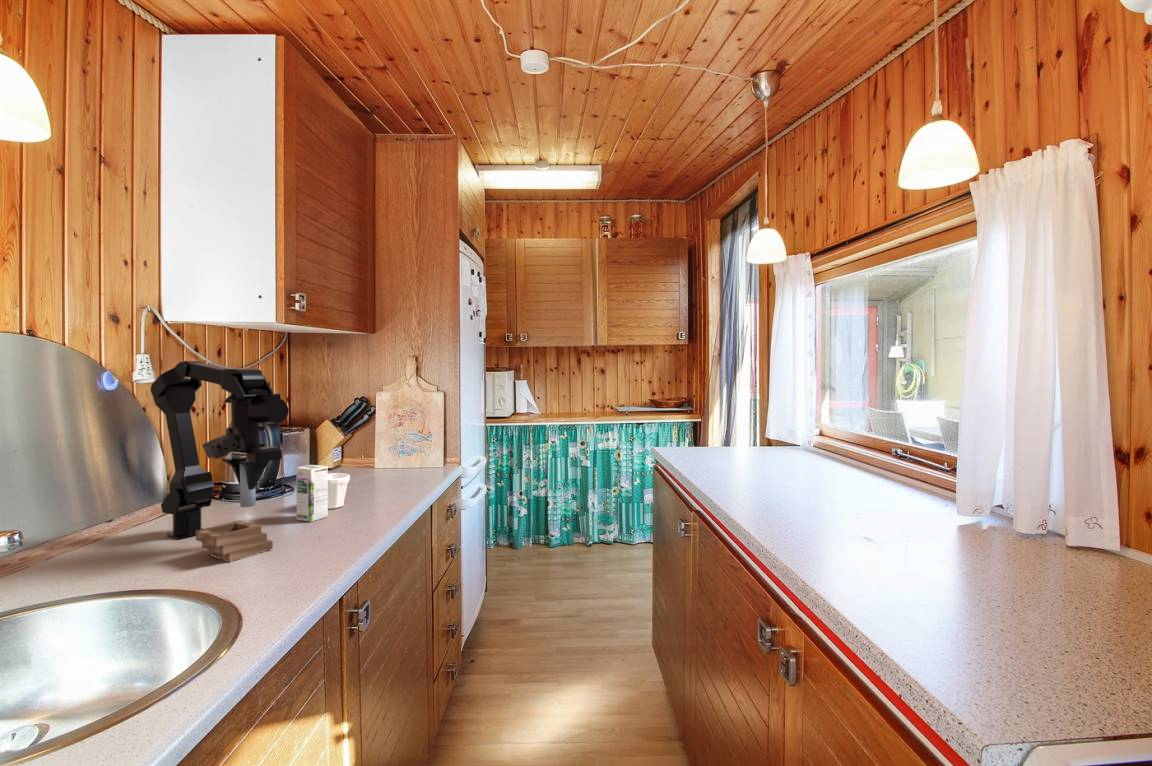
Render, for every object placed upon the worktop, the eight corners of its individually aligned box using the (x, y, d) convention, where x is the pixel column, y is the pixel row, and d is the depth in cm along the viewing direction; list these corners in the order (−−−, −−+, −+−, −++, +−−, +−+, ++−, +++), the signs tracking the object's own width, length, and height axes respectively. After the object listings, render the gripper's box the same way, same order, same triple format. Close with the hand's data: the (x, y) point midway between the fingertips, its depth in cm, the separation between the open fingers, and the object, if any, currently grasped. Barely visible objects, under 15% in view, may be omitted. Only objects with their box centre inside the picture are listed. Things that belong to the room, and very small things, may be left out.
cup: (340, 511, 148) (340, 480, 148) (306, 511, 148) (306, 479, 148) (356, 502, 158) (355, 473, 158) (323, 502, 158) (323, 473, 158)
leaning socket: (196, 558, 111) (195, 530, 111) (251, 542, 121) (250, 517, 121) (217, 566, 107) (216, 537, 107) (272, 549, 117) (272, 523, 117)
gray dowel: (237, 506, 120) (236, 463, 119) (250, 503, 122) (250, 461, 122) (245, 507, 118) (244, 464, 118) (258, 504, 121) (257, 462, 121)
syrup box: (295, 520, 140) (294, 467, 139) (314, 514, 145) (313, 463, 145) (310, 522, 138) (310, 468, 137) (329, 516, 143) (328, 465, 143)
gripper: (185, 423, 117) (187, 491, 117) (232, 427, 108) (233, 500, 109) (236, 419, 127) (238, 482, 127) (283, 422, 118) (284, 490, 118)
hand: (247, 488), depth 120 cm, fingers closed on gray dowel, 3 cm apart
